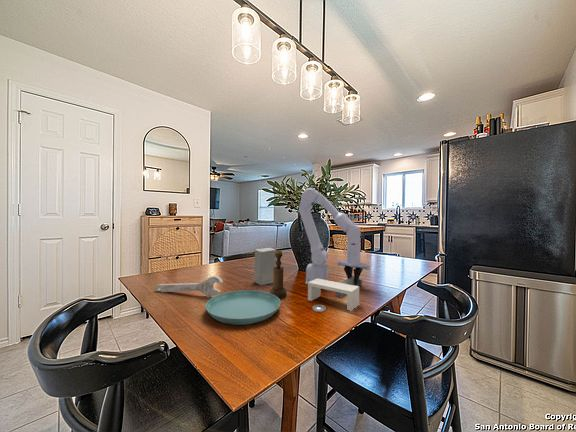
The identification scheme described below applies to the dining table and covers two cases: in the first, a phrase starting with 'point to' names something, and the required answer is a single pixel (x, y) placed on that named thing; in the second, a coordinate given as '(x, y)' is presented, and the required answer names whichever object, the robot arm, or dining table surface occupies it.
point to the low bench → (350, 290)
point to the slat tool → (350, 282)
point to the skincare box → (264, 265)
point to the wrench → (194, 286)
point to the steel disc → (319, 308)
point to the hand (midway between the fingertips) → (353, 283)
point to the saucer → (242, 307)
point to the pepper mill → (278, 278)
